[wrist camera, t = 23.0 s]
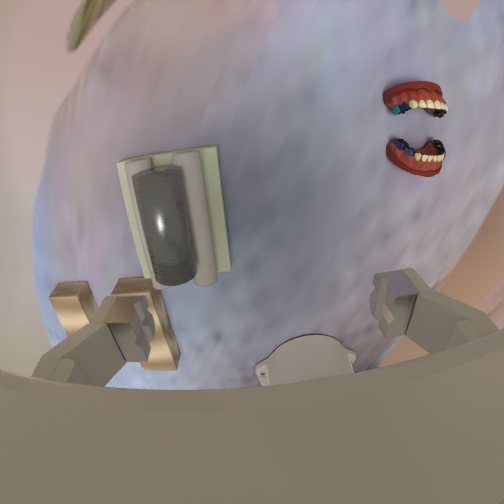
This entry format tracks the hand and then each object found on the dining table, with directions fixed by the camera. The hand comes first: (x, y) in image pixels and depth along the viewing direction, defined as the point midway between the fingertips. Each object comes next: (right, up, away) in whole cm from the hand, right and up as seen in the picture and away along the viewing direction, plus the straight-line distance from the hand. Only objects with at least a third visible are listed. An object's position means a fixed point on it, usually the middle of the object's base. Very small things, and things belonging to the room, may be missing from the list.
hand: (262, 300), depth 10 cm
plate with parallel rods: (-10, +7, +27) cm, 29 cm away
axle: (-10, +6, +23) cm, 25 cm away
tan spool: (-22, -10, +35) cm, 42 cm away
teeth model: (+21, +18, +23) cm, 36 cm away
